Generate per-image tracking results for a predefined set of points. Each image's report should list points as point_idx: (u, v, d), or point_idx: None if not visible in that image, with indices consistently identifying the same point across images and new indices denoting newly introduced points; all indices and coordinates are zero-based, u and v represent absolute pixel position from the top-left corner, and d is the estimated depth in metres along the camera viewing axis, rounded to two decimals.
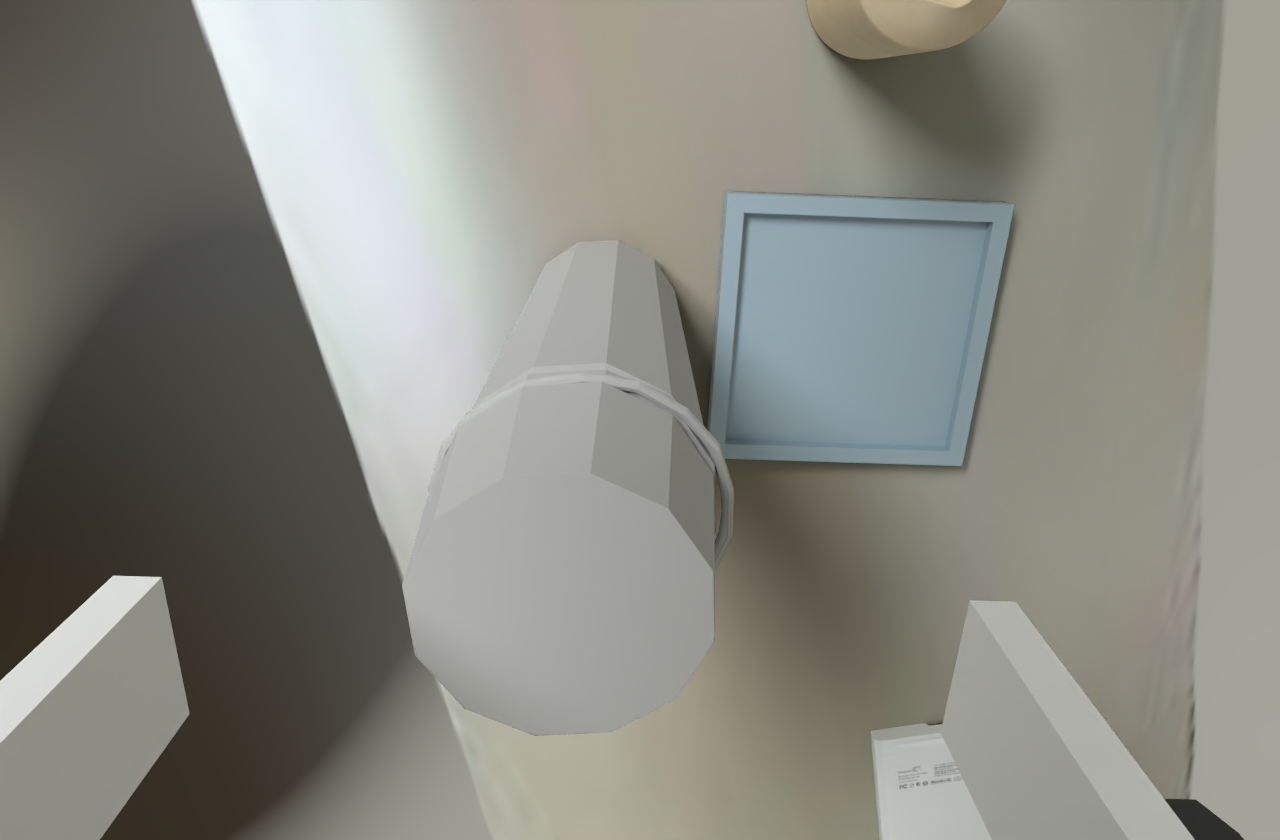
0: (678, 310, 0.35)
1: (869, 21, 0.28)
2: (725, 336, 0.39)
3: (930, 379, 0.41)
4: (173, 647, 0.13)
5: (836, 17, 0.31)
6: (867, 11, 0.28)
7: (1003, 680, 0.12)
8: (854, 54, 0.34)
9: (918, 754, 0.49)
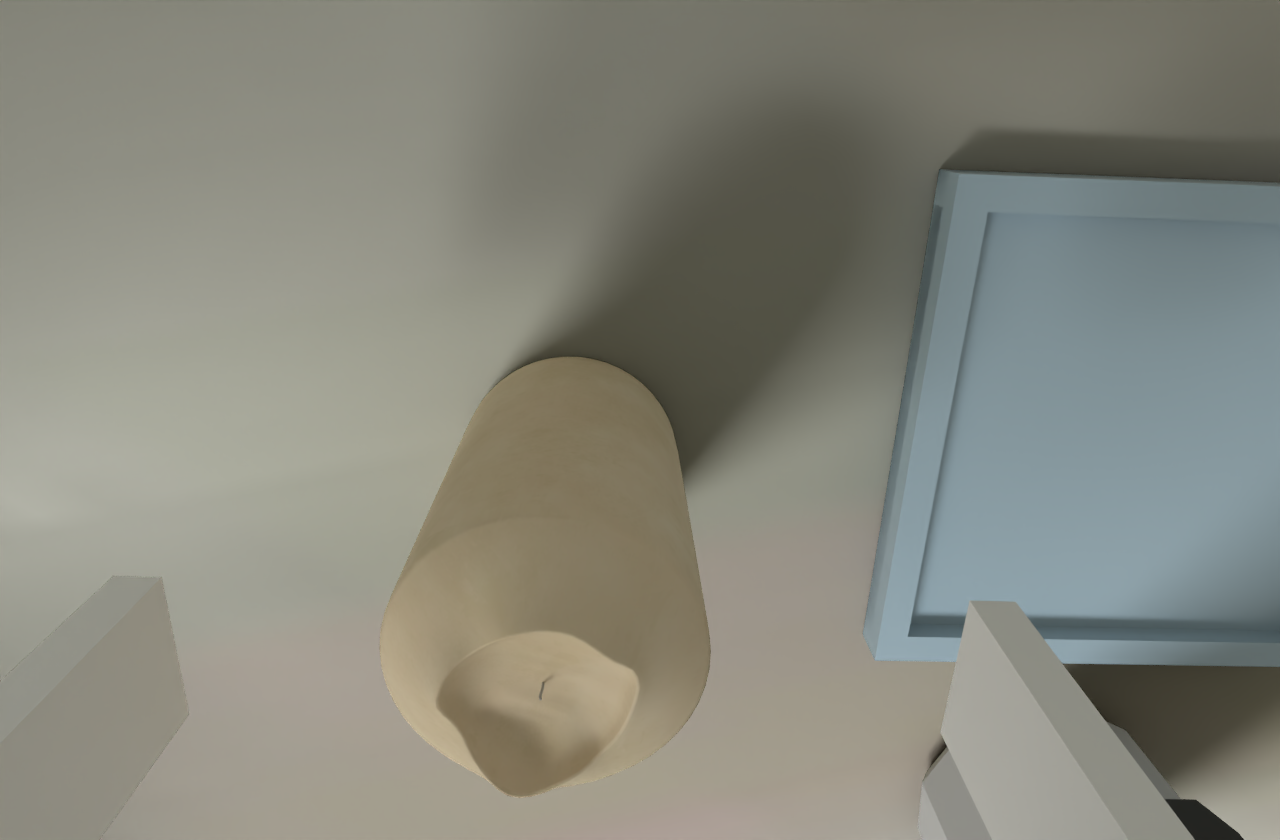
0: None
1: None
2: (1110, 651, 0.23)
3: None
4: (173, 647, 0.13)
5: None
6: (638, 762, 0.15)
7: (1004, 681, 0.12)
8: None
9: None
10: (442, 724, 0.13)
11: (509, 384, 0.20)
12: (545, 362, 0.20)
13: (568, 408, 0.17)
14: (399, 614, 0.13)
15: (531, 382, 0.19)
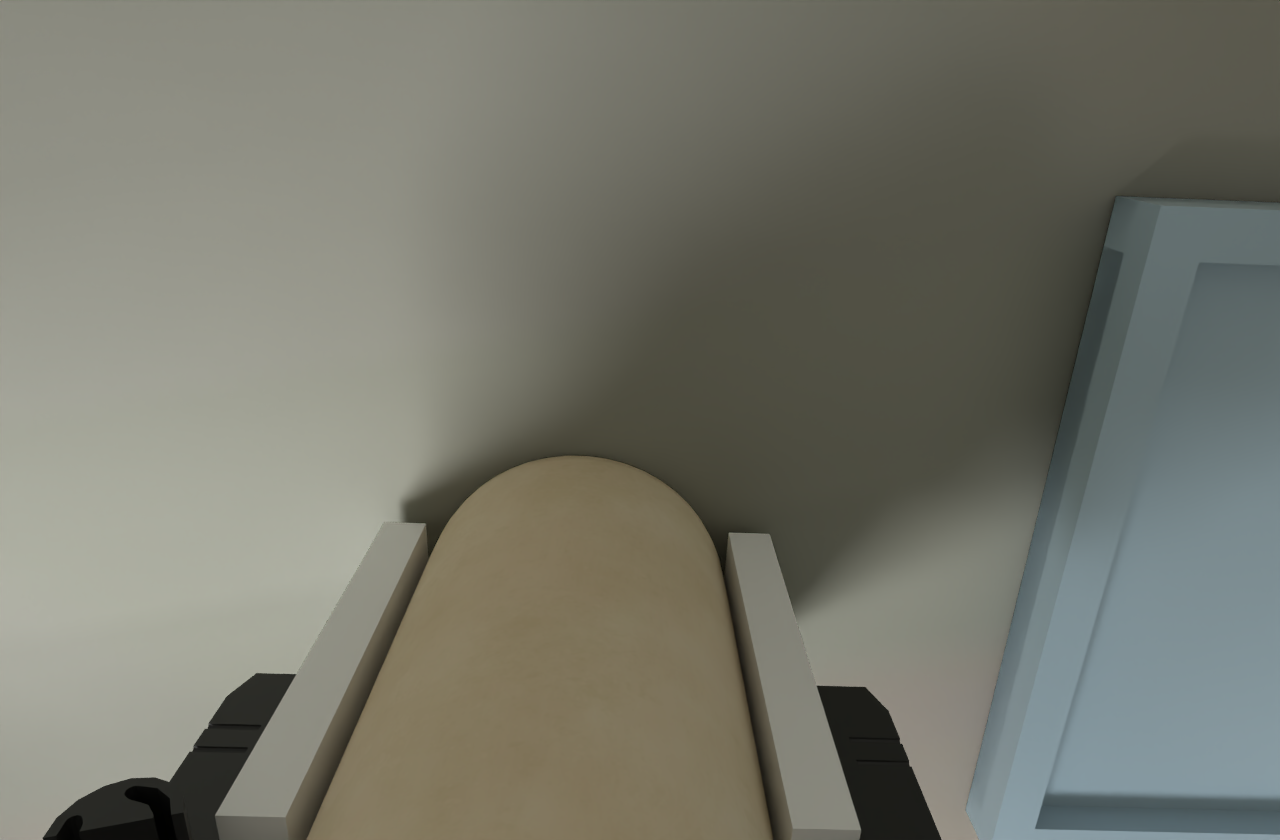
0: None
1: None
2: None
3: None
4: None
5: None
6: None
7: (736, 596, 0.14)
8: None
9: None
10: None
11: (487, 503, 0.14)
12: (540, 466, 0.14)
13: (569, 568, 0.11)
14: None
15: (518, 508, 0.13)
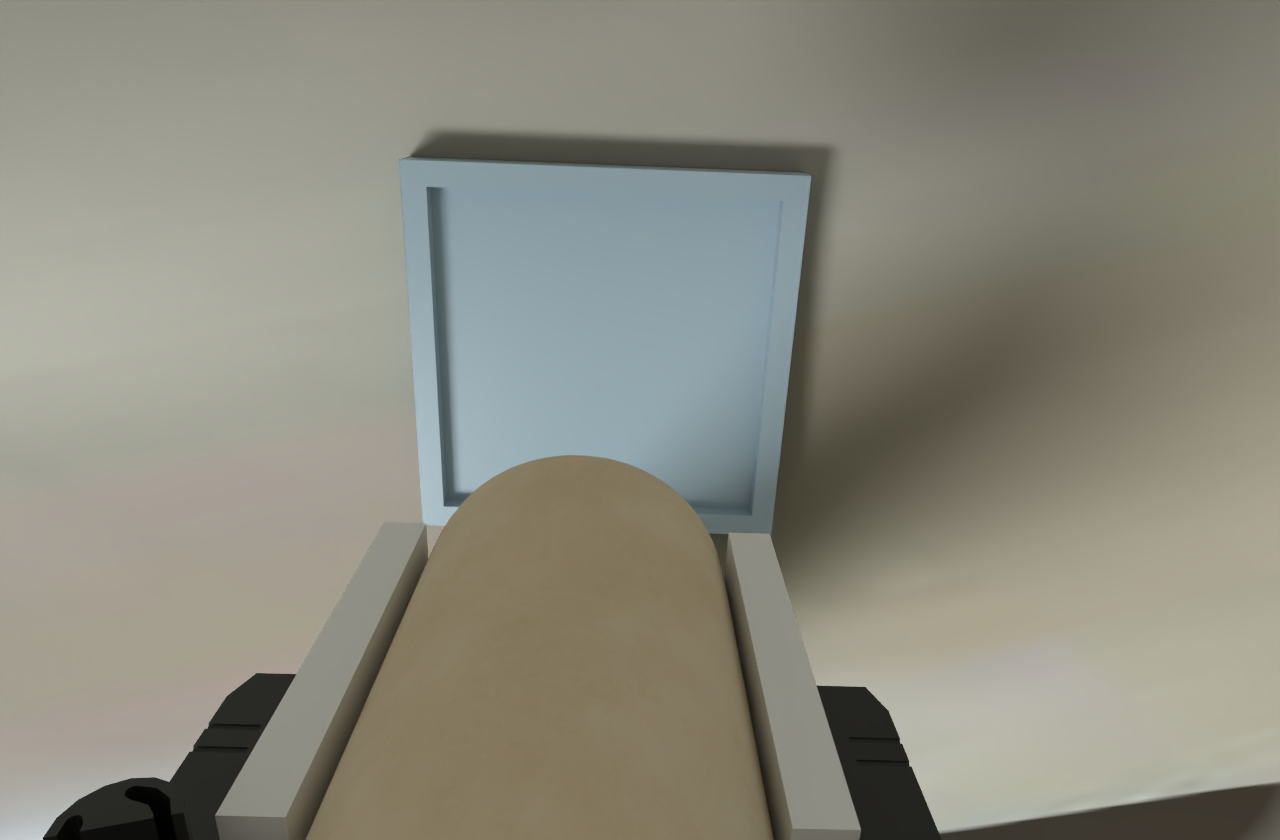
0: None
1: None
2: None
3: (669, 236, 0.27)
4: None
5: None
6: None
7: (736, 596, 0.14)
8: None
9: None
10: None
11: (487, 503, 0.14)
12: (540, 466, 0.14)
13: (569, 568, 0.11)
14: None
15: (517, 507, 0.13)
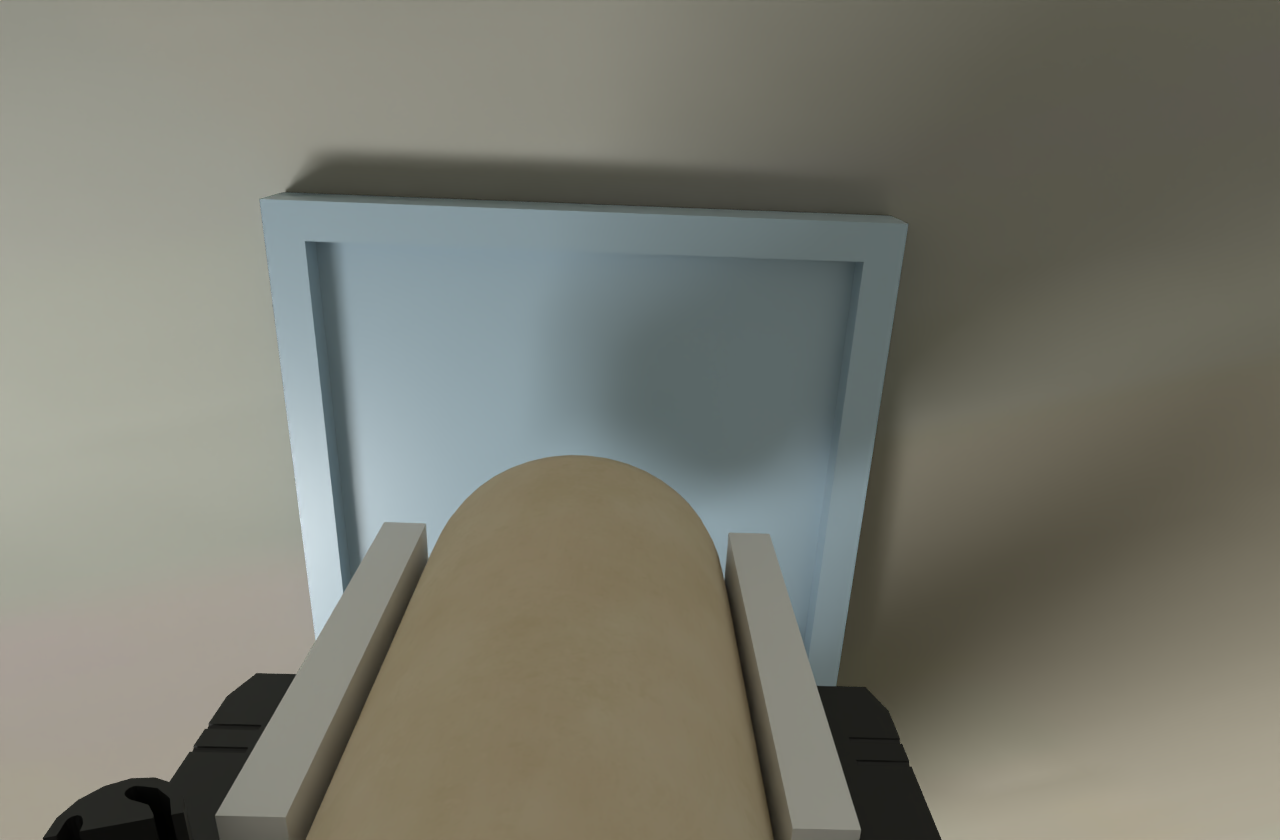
0: None
1: None
2: None
3: (684, 313, 0.18)
4: None
5: None
6: None
7: (736, 596, 0.14)
8: None
9: None
10: None
11: (487, 503, 0.14)
12: (540, 466, 0.14)
13: (569, 568, 0.11)
14: None
15: (518, 507, 0.13)
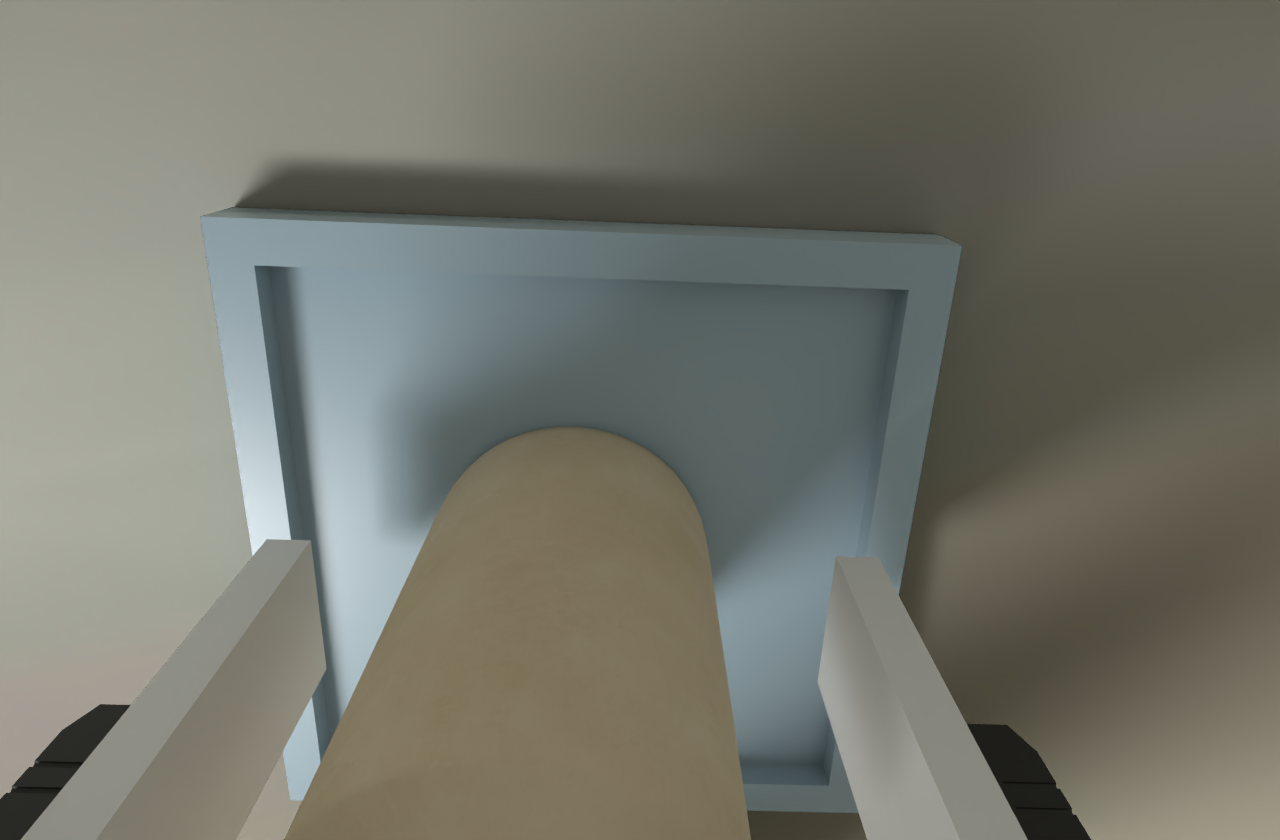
0: None
1: None
2: None
3: (698, 348, 0.15)
4: (316, 605, 0.15)
5: None
6: None
7: (854, 625, 0.13)
8: None
9: None
10: None
11: (487, 469, 0.15)
12: (535, 436, 0.15)
13: (558, 522, 0.12)
14: None
15: (514, 471, 0.14)
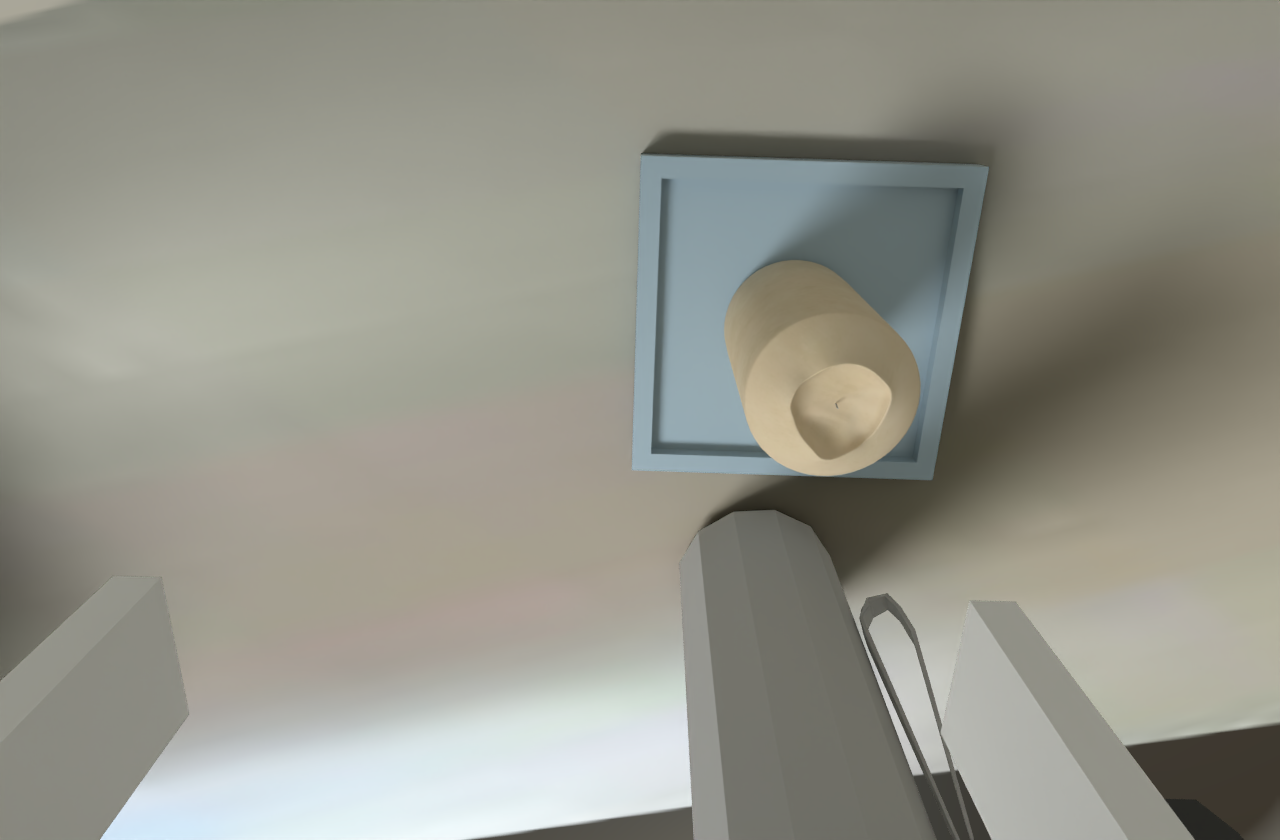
0: (741, 559, 0.33)
1: (883, 454, 0.27)
2: None
3: (860, 219, 0.32)
4: (173, 646, 0.13)
5: None
6: (875, 460, 0.27)
7: (1004, 681, 0.12)
8: None
9: None
10: (785, 423, 0.25)
11: (763, 274, 0.32)
12: (781, 262, 0.32)
13: (816, 278, 0.29)
14: (761, 367, 0.25)
15: (781, 270, 0.31)
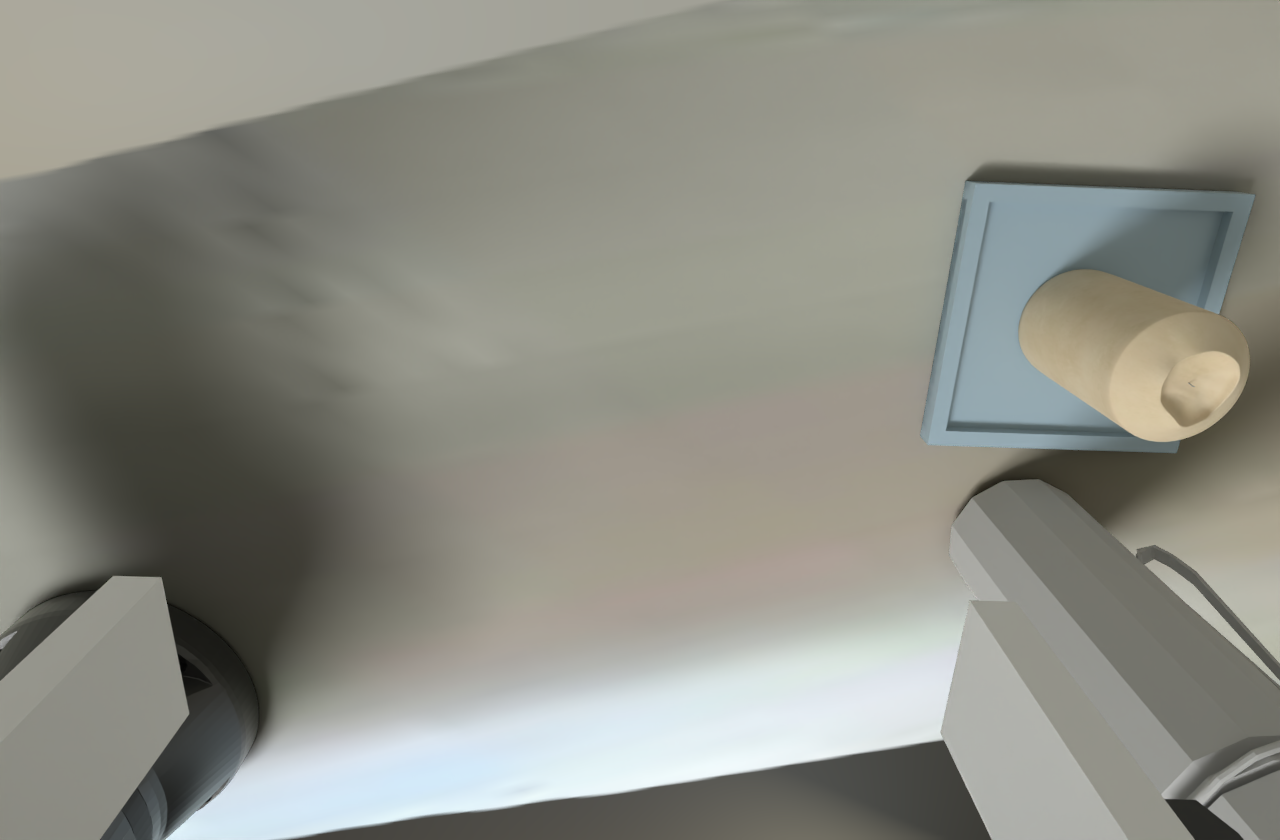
0: (1037, 517, 0.40)
1: (1210, 424, 0.34)
2: (1056, 441, 0.42)
3: (1141, 236, 0.39)
4: (172, 646, 0.13)
5: None
6: (1205, 429, 0.33)
7: (1004, 680, 0.12)
8: None
9: None
10: (1151, 398, 0.32)
11: (1067, 281, 0.38)
12: (1076, 271, 0.39)
13: (1133, 284, 0.36)
14: (1131, 354, 0.32)
15: (1088, 278, 0.38)
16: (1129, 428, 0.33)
